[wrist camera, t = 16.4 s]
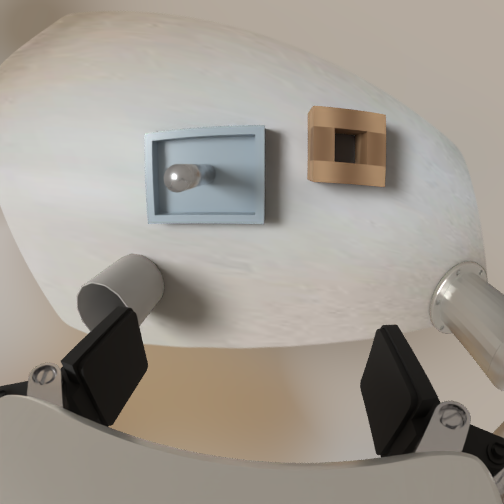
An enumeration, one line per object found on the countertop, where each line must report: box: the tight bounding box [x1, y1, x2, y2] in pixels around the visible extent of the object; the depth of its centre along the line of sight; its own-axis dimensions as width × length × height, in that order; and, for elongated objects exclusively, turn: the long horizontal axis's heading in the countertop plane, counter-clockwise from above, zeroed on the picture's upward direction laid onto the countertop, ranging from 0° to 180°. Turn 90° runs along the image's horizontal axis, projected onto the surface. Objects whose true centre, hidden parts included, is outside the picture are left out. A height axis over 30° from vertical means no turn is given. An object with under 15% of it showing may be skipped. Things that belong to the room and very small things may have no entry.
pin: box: [164, 164, 216, 193], centre depth 26 cm, size 2×2×10 cm
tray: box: [145, 125, 265, 224], centre depth 30 cm, size 14×11×2 cm
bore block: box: [307, 106, 386, 187], centre depth 27 cm, size 8×8×5 cm
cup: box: [77, 254, 165, 332], centre depth 32 cm, size 8×8×10 cm
